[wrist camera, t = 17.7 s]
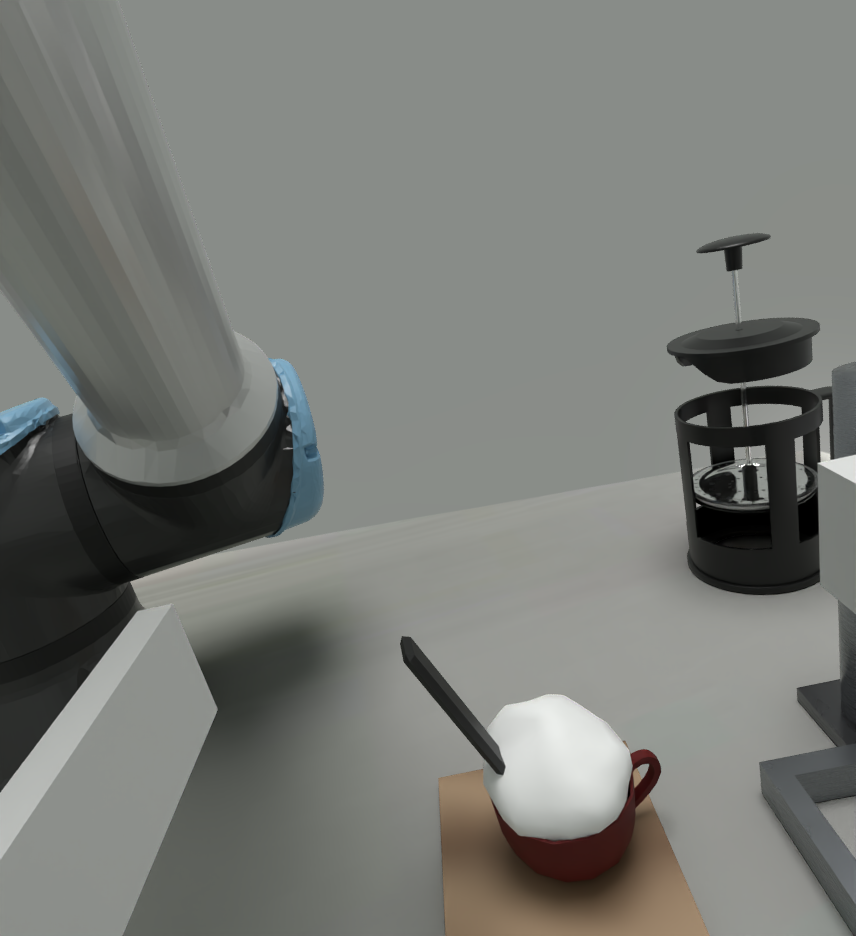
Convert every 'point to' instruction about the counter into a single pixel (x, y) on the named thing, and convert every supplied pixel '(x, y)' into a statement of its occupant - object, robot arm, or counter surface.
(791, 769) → the ring stand
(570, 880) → the cocoa
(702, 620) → the counter surface
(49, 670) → the robot arm
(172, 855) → the counter surface
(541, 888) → the walnut coaster
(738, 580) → the french press
